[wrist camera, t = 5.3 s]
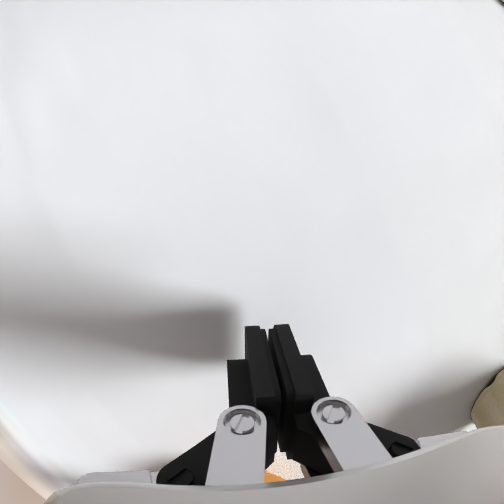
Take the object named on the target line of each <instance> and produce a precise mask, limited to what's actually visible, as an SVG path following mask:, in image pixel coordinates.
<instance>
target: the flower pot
mask: <svg viewBox="0 0 504 504" xmlns="http://www.w3.org/2000/svg"><path fill="white" fill-rule="evenodd" d="M471 418H472V420H473V422H474V424H475V426H476V427H477V429H479V428H484V427H489V426H499V425H504V369H503V370H502V371H500V372H499V373H498V374H497V375H496V378H495V380H494V382H493V383H492V384H491V385H490V386H488V387H487V388H485V389H484V390H483V391H482V392H481V394H480V395H479V397H478V399H477V400H476V402H475V404H474V406H473V409H472V412H471Z"/></svg>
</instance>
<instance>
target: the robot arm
mask: <svg viewBox="0 0 504 504" xmlns="http://www.w3.org/2000/svg"><path fill="white" fill-rule="evenodd" d="M502 1H503V2H504V0H502ZM227 371H228V391H229V408H228V409H226V410H224V411H223V412H222V413H221V414H220V416H219V419H218V423H217V428H216V431H215V432H214V433H212V434H211V435H209V436H208V437H207V438H205V439H204V440H202V441H201V442H200V443H198V444H197V445H195V446H194V447H193V448H191V449H190V450H188V451H187V452H185V453H184V454H182V455H181V456H179V457H178V458H176V459H175V460H173V461H172V462H170V463H169V464H167V465H166V466H164V467H163V468H162V469H161V470H160V471H157V472H150V471H149V470H138V471H123V472H95V473H88V474H86V475H84V476H82V477H81V478H80V479H79V481H78V482H77V485H72V486H68V487H65V488H62V489H60V490H58V491H56V492H54V493H53V494H52V495H51V496H50V497H49V498H48V499H47V501H46V502H45V503H44V504H504V425H499V426H489V427H484V428H479V429H476V430H472V431H469V432H467V431H458V432H453V433H447V434H441V435H434V436H427V437H419V438H418V439H417V441H414V440H413V439H411V438H409V437H406V436H403V435H401V434H398V433H395V432H392V431H389V430H386V429H383V428H381V427H378V426H375V425H373V424H370V423H367V422H365V420H364V419H363V418H362V416H361V415H360V413H359V412H358V411H357V409H356V408H355V407H354V405H353V404H352V403H351V402H349V401H347V400H346V399H343V398H340V397H330V396H329V394H328V391H327V389H326V387H325V384H324V382H323V380H322V378H321V375H320V373H319V371H318V368H317V366H316V364H315V361H314V359H313V357H312V355H300V352H299V350H298V347H297V344H296V342H295V339H294V337H293V334H292V331H291V329H290V326H289V324H281V325H274V328H273V329H269V333H268V339H267V335H266V331H265V329H260V327H259V326H245V359H239V360H227ZM277 442H278V444H279V448H280V452H286V456H287V460H288V459H293V460H294V461H296V462H298V463H300V464H301V465H300V467H301V471H302V473H303V475H304V477H305V478H302V479H295V480H287V481H278V482H269V483H264V476H265V470H266V469H267V468H268V467H269V466H270V465H271V464H272V463H273V462H274V455H275V453H276V451H277Z"/></svg>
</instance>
